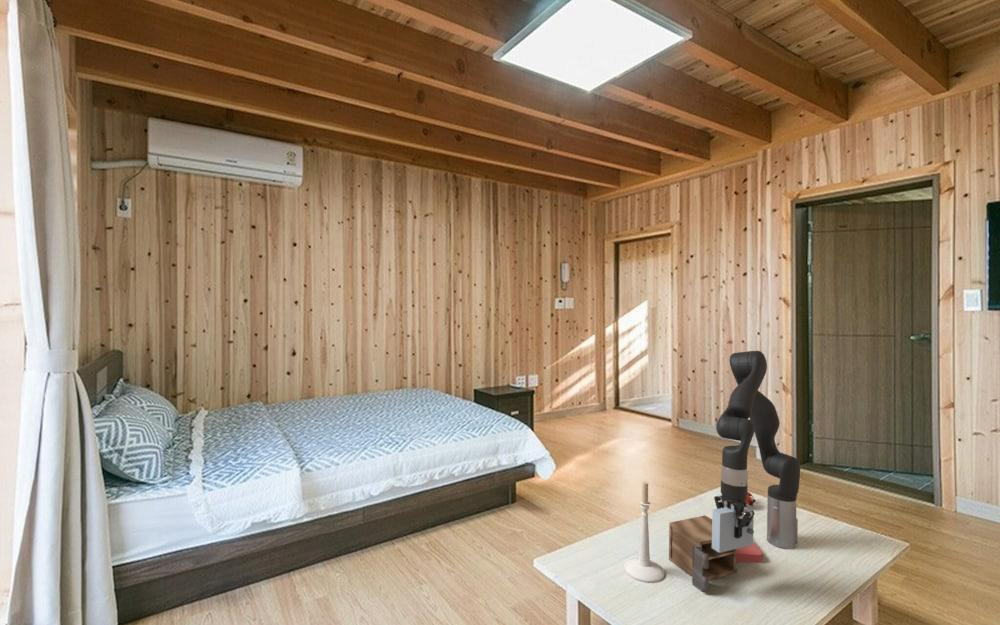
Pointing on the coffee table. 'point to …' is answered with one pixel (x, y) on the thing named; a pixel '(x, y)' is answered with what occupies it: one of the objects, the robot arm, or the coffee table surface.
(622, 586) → the coffee table surface
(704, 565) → the cabinet
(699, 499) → the coffee table surface
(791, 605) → the coffee table surface
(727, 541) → the door
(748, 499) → the dragon fruit
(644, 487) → the candlestick
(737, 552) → the plaque
